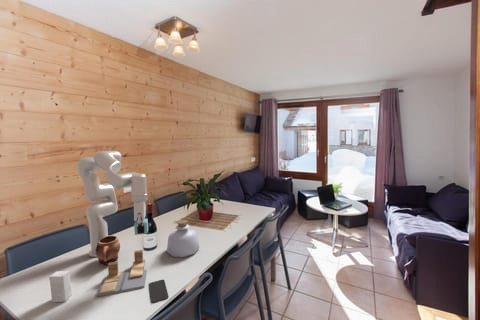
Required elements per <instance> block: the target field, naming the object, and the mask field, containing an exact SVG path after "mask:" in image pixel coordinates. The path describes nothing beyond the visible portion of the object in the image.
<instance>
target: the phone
mask: <svg viewBox="0 0 480 320" xmlns="http://www.w3.org/2000/svg"><path fill="white" fill-rule="evenodd" d="M167 289H168V288H167V285H166V282H165V279H159V280H156V281H152V282H149V283H148V291H149V295H150V296H149V297H150V303H152V304H155V303H159V302H162V301H165V300H168V298H169V292H168V290H167Z"/></svg>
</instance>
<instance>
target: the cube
mask: <svg viewBox="0 0 480 320" xmlns="http://www.w3.org/2000/svg"><path fill="white" fill-rule="evenodd" d="M141 220H142V219H141ZM141 222H142V221H141ZM143 225H144V233H140V234H138V233H137V220H136V221H134V224H133V227H134V229H133V230H134V235H135V236H139V235H146V234H148V232H149V222H148V218H145V219H144V220H143Z"/></svg>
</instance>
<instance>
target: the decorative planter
mask: <svg viewBox="0 0 480 320" xmlns="http://www.w3.org/2000/svg"><path fill="white" fill-rule="evenodd" d="M119 241H120V240H119V239H118V236H117V235H113V234H110V235H109V234H108V236H106V237H103V238H101V239H100V240H99V241H98V244H97V247H96V255H97V257H96V258H97V259H98V262H99V265H101V266H105V265H106V266H108V264H109V263H111V262H117V261H118V260H119V253H120V249H121V244H120V242H119Z"/></svg>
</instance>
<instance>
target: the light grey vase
mask: <svg viewBox="0 0 480 320" xmlns="http://www.w3.org/2000/svg"><path fill="white" fill-rule="evenodd" d="M176 222H177V225H176V227H175V229H176V230H175V231H172V232H170V233H169V235H168V238H167V245H166V246H167V247H166V252H167V254H168V255H170V256H172V257H173V258H187V257H189V256H193V255H194V254H196V252H197V251H198V250H199V249H200V243H199V238H198V234H197V232H196V231H195V230H194V229H190V225H189V223H188V220H187V219H179V220H177V221H176Z"/></svg>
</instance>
